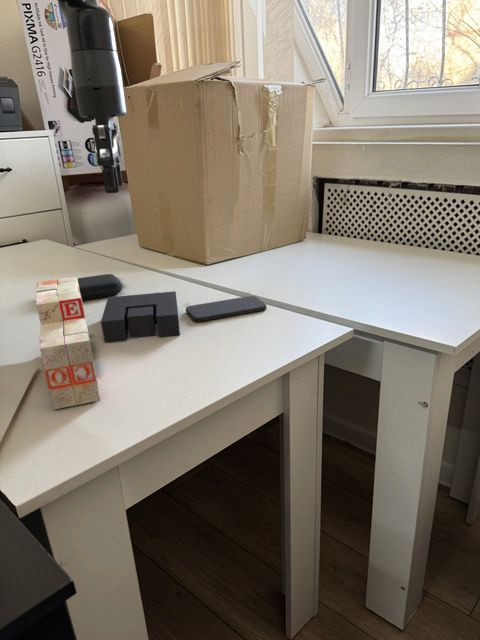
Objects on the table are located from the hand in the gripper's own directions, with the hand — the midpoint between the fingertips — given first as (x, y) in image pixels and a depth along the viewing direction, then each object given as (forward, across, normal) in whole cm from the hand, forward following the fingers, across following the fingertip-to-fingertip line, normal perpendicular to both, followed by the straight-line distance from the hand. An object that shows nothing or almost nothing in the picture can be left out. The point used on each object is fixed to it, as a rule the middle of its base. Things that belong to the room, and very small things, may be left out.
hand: (114, 189), depth 88 cm
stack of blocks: (+24, +22, -8) cm, 34 cm away
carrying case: (+24, -18, -11) cm, 32 cm away
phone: (+24, +1, +18) cm, 30 cm away
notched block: (+24, +4, +2) cm, 25 cm away
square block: (+24, +8, +2) cm, 25 cm away
